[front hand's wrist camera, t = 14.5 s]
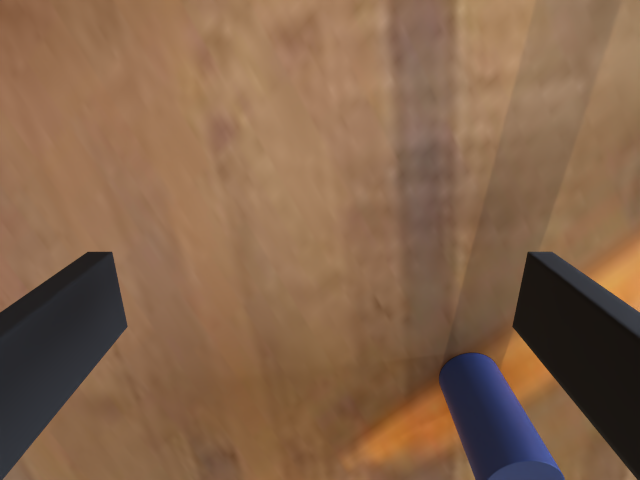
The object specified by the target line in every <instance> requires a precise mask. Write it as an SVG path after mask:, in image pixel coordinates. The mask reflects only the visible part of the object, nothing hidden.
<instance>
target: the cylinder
mask: <svg viewBox="0 0 640 480" xmlns="http://www.w3.org/2000/svg"><path fill="white" fill-rule="evenodd" d="M439 383H440V386H441V389H442V392H443V394H444V397H445V400H446V402H447V405H448V408H449V410H450V413H451V415H452V418H453V421H454V423H455V426H456V429H457V431H458V434H459V437H460V439H461V442H462V445H463V447H464V450H465V453H466V455H467V458H468V460H469V463H470V466H471V468H472V471H473V474H474V476H475V479H476V480H565V479H564V476H563V474H562V472H561V471H560V469H559V467H558V466H557V464H556V462H555V461H554V459H553V457H552V456H551V454H550V452H549V451H548V449H547V448H546V446H545V444H544V443H543V441H542V439H541V438H540V436H539V434H538V433H537V431H536V429H535V428H534V426H533V424H532V423H531V421H530V419H529V418H528V416H527V415H526V413H525V411H524V410H523V408H522V406H521V405H520V403H519V401H518V400H517V398H516V396H515V395H514V393H513V391H512V390H511V388H510V386H509V385H508V383H507V382H506V380H505V378H504V377H503V375H502V373H501V372H500V370H499V368H498V367H497V365H496V364H495V362H494V361H493V360H492V359H491V358H489V357H487V356H485V355H483V354H479V353H466V354H462V355H459V356H456V357H454V358H452V359H451V360H450V361H448V362H447V363H446V364H445V365H444V367H443V368H442V370H441V372H440V376H439Z"/></svg>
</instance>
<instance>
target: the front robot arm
mask: <svg viewBox="0 0 640 480" xmlns="http://www.w3.org/2000/svg"><path fill="white" fill-rule="evenodd" d="M126 328H127V322H126V317H125V312H124V307H123V302H122V298H121V293H120V288H119V283H118V278H117V273H116V268H115V264H114V259H113V254H112V252H87V253H86V254H84V255H83V256H81V257H80V258H78V259H77V260H75V261H74V262H73V263H71V264H70V265H68V266H67V267H65V268H64V269H62V270H61V271H60V272H58V273H57V274H55V275H54V276H52V277H51V278H50V279H48V280H47V281H45V282H44V283H42V284H41V285H39V286H38V287H37V288H35V289H34V290H32V291H31V292H29V293H28V294H26V295H25V296H24V297H22V298H21V299H19V300H18V301H16V302H15V303H13V304H12V305H11V306H9V307H8V308H6V309H5V310H3V311H2V312H0V480H3V478H4V477H5V476H6V475H7V473H8V472H9V471H10V470H11V469H12V467H13V466H14V465H15V464H16V462H17V461H18V460H19V459H20V458H21V456H22V455H23V454H24V453H25V451H26V450H27V449H28V448H29V447H30V445H31V444H32V443H33V442H34V440H35V439H36V438H37V437H38V436H39V434H40V433H41V432H42V431H43V429H44V428H45V427H46V426H47V425H48V423H49V422H50V421H51V420H52V418H53V417H54V416H55V415H56V413H57V412H58V411H59V410H60V409H61V407H62V406H63V405H64V404H65V402H66V401H67V400H68V399H69V398H70V396H71V395H72V394H73V393H74V391H75V390H76V389H77V388H78V387H79V385H80V384H81V383H82V382H83V380H84V379H85V378H86V377H87V376H88V374H89V373H90V372H91V371H92V369H93V368H94V367H95V366H96V365H97V363H98V362H99V361H100V360H101V358H102V357H103V356H104V355H105V353H106V352H107V351H108V350H109V349H110V347H111V346H112V345H113V344H114V342H115V341H116V340H117V339H118V338H119V336H120V335H121V334H122V333H123V331H124V330H125V329H126ZM513 328H514V329H515V330H516V331H517V333H518V334H519V335H520V336H521V338H522V339H523V340H524V341H525V342H526V344H527V345H528V346H529V347H530V349H531V350H532V351H533V352H534V353H535V355H536V356H537V357H538V358H539V360H540V361H541V362H542V363H543V365H544V366H545V367H546V368H547V369H548V371H549V372H550V373H551V374H552V376H553V377H554V378H555V379H556V380H557V382H558V383H559V384H560V385H561V387H562V388H563V389H564V390H565V391H566V393H567V394H568V395H569V396H570V398H571V399H572V400H573V401H574V402H575V404H576V405H577V406H578V407H579V409H580V410H581V411H582V412H583V413H584V415H585V416H586V417H587V418H588V420H589V421H590V422H591V423H592V425H593V426H594V427H595V428H596V429H597V431H598V432H599V433H600V434H601V436H602V437H603V438H604V439H605V440H606V442H607V443H608V444H609V445H610V447H611V448H612V449H613V450H614V451H615V453H616V454H617V455H618V456H619V458H620V459H621V460H622V461H623V462H624V464H625V465H626V466H627V467H628V469H629V470H630V471H631V472H632V473H633V475H634V476H635V477H636V478H637V480H640V312H638V311H637V310H635V309H634V308H632V307H631V306H629V305H628V304H627V303H625V302H624V301H622V300H621V299H619V298H618V297H616V296H615V295H614V294H612V293H611V292H609V291H608V290H606V289H605V288H603V287H602V286H601V285H599V284H598V283H596V282H595V281H593V280H592V279H590V278H589V277H588V276H586V275H585V274H583V273H582V272H580V271H579V270H578V269H576V268H575V267H573V266H572V265H570V264H569V263H567V262H566V261H565V260H563V259H562V258H560V257H559V256H557V255H556V254H554V253H553V252H528V254H527V259H526V264H525V268H524V273H523V278H522V283H521V288H520V293H519V297H518V302H517V307H516V312H515V317H514V322H513Z"/></svg>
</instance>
